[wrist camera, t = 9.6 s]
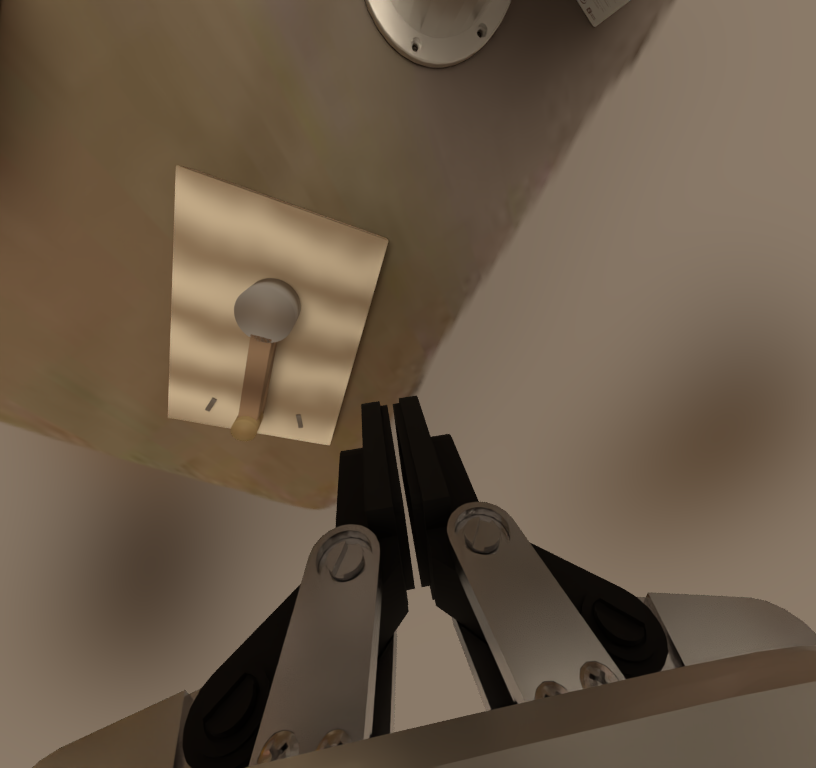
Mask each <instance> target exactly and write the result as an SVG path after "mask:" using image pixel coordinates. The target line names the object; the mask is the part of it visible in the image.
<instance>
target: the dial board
mask: <svg viewBox="0 0 816 768" xmlns="http://www.w3.org/2000/svg"><path fill="white" fill-rule="evenodd" d="M388 241H389V240H388V239H387V238H385V237H382V236H379V235H377V234H374V233H371V232H368V231H365V230H363V229H360V228H357V227H354V226H351V225H349V224H346V223H343V222H340V221H337V220H335V219H332V218H329V217H326V216H323V215H321V214H318V213H315V212H312V211H309V210H307V209H304V208H301V207H298V206H295V205H292V204H290V203H287V202H284V201H281V200H278V199H276V198H273V197H270V196H267V195H264V194H262V193H259V192H256V191H253V190H250V189H248V188H245V187H242V186H239V185H236V184H234V183H231V182H228V181H225V180H222V179H220V178H217V177H214V176H211V175H208V174H206V173H203V172H200V171H197V170H194V169H191V168H187V167H183V166H178V165H176V182H175V212H174V243H173V274H172V305H171V335H170V366H169V397H168V418H173V419H179V420H185V421H191V422H197V423H202V424H208V425H214V426H220V427H226V428H231V427H232V425H233V423H234V421H235V420H236V418H237V416H238V414H239V408H240V401H241V394H242V388H243V381H244V375H245V368H246V362H247V355H248V348H249V342H250V337H249V336H247V335H246V334H245V333H244V332H243V331H242V330H241V329H240V327H239V326H238V324H237V322H236V320H235V316H234V305H235V302H236V300H237V298H238V297H239V296H240V294H242V293H243V292H244V291H245V290H247V289H248V288H249V287H250V286H252V285H253V284H254V283H256V282H257V281H259V280H261V279H265V278H275V279H279V280H282V281H284V282H286V283H287V284H289V285H290V286H291V287H292V288H293V289H294V290H295V291H296V293H297V294H298V296H299V299H300V303H301V311H300V315H299V317H298V319H297V321H296V323H295V325H294V327H293V329H292V331H291V332H290V334H289V335H288V336H287V337H286V338H284V339H283V340H280V341H278V342H277V346H276V351H275V357H274V362H273V367H272V372H271V378H270V383H269V388H268V394H267V399H266V404H265V409H264V414H263V415H264V417H263V420H262V422H261V425H260V427H259V429H258V432H257V433H260V434H266V435H272V436H278V437H283V438H289V439H295V440H301V441H307V442H312V443H318V444H324V445H330V443H331V439H332V436H333V432H334V429H335V425H336V422H337V419H338V415H339V412H340V408H341V405H342V401H343V398H344V394H345V391H346V387H347V384H348V380H349V377H350V373H351V370H352V366H353V363H354V359H355V356H356V352H357V349H358V345H359V342H360V338H361V335H362V332H363V328H364V325H365V321H366V318H367V314H368V311H369V307H370V304H371V300H372V297H373V293H374V290H375V286H376V283H377V279H378V276H379V272H380V269H381V265H382V262H383V258H384V255H385V251H386V248H387V244H388Z"/></svg>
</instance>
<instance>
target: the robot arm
mask: <svg viewBox="0 0 816 768" xmlns="http://www.w3.org/2000/svg"><path fill="white" fill-rule="evenodd" d="M365 2H366V5H367V8H368V11H369V13H370V15H371V17H372V18H373V20H374V22H375V24H376V26H377V28H378V30H379V31H380V32H381V34H382V35H383V36H384V37H385V39H386V40H387V41H388V43H389V44H390V45H391V46H392V47H393V48H394V49H395V50H397V51H398V52H399V53H400V54H401V55H402V56H404V57H406V58H407V59H409V60H411V61H412V62H414V63H417V64H420V65H423V66H426V67H437V68H443V67H448V66H453V65H457V64H459V63H461V62H463V61H465V60H467V59H469V58H470V57H471V56H473V55H474V54H475V53H476V52H478V51H479V50H480V49H481V48H482V47H483V46H484V45H485V44H486V42H487V41H488V40H489V39H490V38H491V37H492V35H493V34H494V32H495V31H496V29H497V28H498V27H499V25H500V24H501V22H502V20H503V18H504V16H505V14H506V12H507V10H508V8H509V6H510V3H511V0H365ZM477 32H480V33H481V38H480V37H479V36H478V35H477ZM413 45H415V46H416V47H417V49H418V50H417V52H414V51H413V50H412V46H413ZM361 409H362V438H363V448H358V449H352V450H346V451H341V453H340V462H339V479H338V496H337V513H336V528H334V529H332V530H330V531H328V532H327V533H326V534H325V535H323V536H322V537H321V538H320V539H319V540H318V542H317V543H316V544H315V545H314V546H313V548H312V551H311V553H310V555H309V558H308V561H307V564H306V568H305V572H304V575H303V578H302V582H301V584H300V585H299V586H298V587H297V588H296V589H295V590H294V591H293V592H292V593H291V595H290V596H289V597H288V598H287V599H286V600H285V601H284V602H283V603H282V604H281V605H280V606H279V607H278V608H277V609H276V610H275V611H274V612H273V613H272V614H271V615H270V616H269V617H268V618H267V619H266V620H265V621H264V622H263V623H262V624H261V625H260V626H259V627H258V628H257V629H256V630H255V631H254V632H253V634H252V635H251V636H250V637H249V638H248V639H247V640H246V641H245V642H244V643H243V644H242V645H241V646H240V647H239V648H238V649H237V650H236V651H235V652H234V653H233V654H232V655H231V656H230V657H229V658H228V659H227V660H226V661H225V663H223V664H222V665H221V666H220V667H219V668H218V669H217V670H216V672H215V673H214V674H213V675H212V676H211V677H210V678H209V680H208V681H207V682H206V683H205V684H204V686H203V687H202V688H201V689H199V690H197V691H194V692H192V693H190V694H188V693H187V691H186V690H184V691H181V692H179V693H177V694H175V695H173V696H171V697H169V698H166V699H164V700H162V701H160V702H158V703H156V704H153V705H151V706H149V707H147V708H145V709H143V710H141V711H138V712H136V713H134V714H132V715H130V716H128V717H125V718H123V719H121V720H119V721H117V722H115V723H113V724H111V725H108V726H106V727H104V728H102V729H100V730H97V731H95V732H93V733H91V734H89V735H87V736H85V737H83V738H80V739H78V740H76V741H74V742H72V743H69V744H67V745H65V746H63V747H61V748H59V749H58V750H56V751H54V752H53V753H51V754H49V755H48V756H47V757H45V758H43V759H42V760H40V761H39V762H38V763H37V764H36V765H35V766H33V767H32V768H816V633H815V632H814V631H812V630H811V628H809V627H808V626H807V625H806V624H805V623H804V622H803V621H802V620H800V619H799V618H797V617H796V616H794V615H793V614H791V613H790V612H788V611H787V610H785V609H783V608H781V607H779V606H777V605H774V604H772V603H770V602H768V601H764V600H759V599H754V598H747V597H727V596H708V595H707V596H706V595H688V594H668V593H648V594H647V596H646V597H635V596H634V595H633V594H631V593H629V592H628V591H626V590H625V589H623V588H621V587H619V586H617V585H615V584H613V583H610V582H609V581H607V580H605V579H603V578H601V577H598V576H596V575H594V574H592V573H590V572H588V571H586V570H584V569H582V568H580V567H578V566H576V565H574V564H572V563H570V562H568V561H566V560H564V559H562V558H560V557H558V556H556V555H554V554H552V553H550V552H548V551H546V550H544V549H542V548H540V547H538V546H536V545H534V544H532V543H530V542H529V541H528V540H527V538H526V537H525V535H524V534H523V532H522V531H521V530H520V528H519V527H518V525H517V524H516V523H515V521H514V520H513V518H512V517H511V516H510V515H509V514H508V513H507V512H506V511H504V510H503V509H501V508H500V507H498V506H496V505H493V504H490V503H487V502H479V501H478V499H477V497H476V494H475V492H474V490H473V487H472V485H471V482H470V480H469V478H468V475H467V473H466V470H465V468H464V466H463V463H462V461H461V458H460V456H459V454H458V451H457V449H456V446H455V444H454V442H453V439H452V437H451V435H450V434H446V435H439V436H433V437H430V434H429V431H428V428H427V425H426V422H425V418H424V415H423V412H422V409H421V406H420V403H419V400H418V397H417V396H411V397H405V398H399V403H397V404H393V410H394V418H395V425H396V433H397V440H398V448H399V456H400V463H401V471H402V477H403V483H404V489H405V495H406V501H407V506H408V512H409V517H410V524H411V529H412V534H413V541H414V546H415V552H416V558H417V563H418V569H419V575H420V580H421V586H422V587H425V586H430V589H431V594H432V599H433V600H434V599H435V603H436V606H437V607H439V608H440V609H441V610H443V611H444V612H446V613H448V614H449V615H450V616H451V617H452V620H453V625H454V628H455V630H456V632H457V635H458V638H459V641H460V643H461V646H462V649H463V651H464V654H465V657H466V659H467V662H468V664H469V667H470V670H471V672H472V675H473V678H474V680H475V683H476V685H477V688H478V691H479V693H480V696H481V698H482V701H483V704H484V707H485V709H486V712H481V713H476V714H472V715H468V716H463V717H459V718H455V719H450V720H446V721H442V722H437V723H434V724H429V725H425V726H420V727H416V728H412V729H407V730H403V731H399V732H394V717H395V714H394V713H395V686H396V685H395V684H396V653H397V631H396V629H397V628H398V626H399V625H400V623H401V622H402V620H403V619H404V617H405V616H406V614H407V613H408V599H407V592H406V590H410V589H414V588H415V586H414V579H413V571H412V564H411V557H410V549H409V542H408V535H407V528H406V520H405V513H404V506H403V500H402V493H401V487H400V481H399V475H398V469H397V463H396V456H395V450H394V444H393V438H392V432H391V426H390V420H389V413H388V407H387V405H383V406H380V402H379V401H378V402H371V403H365V404H361Z"/></svg>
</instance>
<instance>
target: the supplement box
mask: <svg viewBox="0 0 816 768" xmlns="http://www.w3.org/2000/svg"><path fill="white" fill-rule="evenodd" d="M629 1H631V0H577V2H578V3H579V5H580V7H581V8H582V10H583V11H584V13H585V14H586V16H587V18H588V19H589V21H590V22H591V24H592V25H593V26H594V27H596V26H597V25H598V24H600V23H601V22H603V21H604V20H605V19H607V18H608V17H609V16H610V15H612V14H613V13H614V12H616V11H617V10H618V9H620V8H621V7H622V6H624V5H625V4H626V3H628V2H629Z"/></svg>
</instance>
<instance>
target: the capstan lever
mask: <svg viewBox="0 0 816 768" xmlns="http://www.w3.org/2000/svg"><path fill="white" fill-rule="evenodd" d="M300 311H301V303H300V299H299V296H298V294H297V293H296V291H295V290H294V289H293V288H292V287H291V286H290V285H289V284H287V283H286V282H284V281H282V280H279V279H275V278H265V279H261V280H259V281H257V282H256V283H254V284H253V285H252V286H250V287H249V288H248V289H247V290H245V291H244V292H243V293H242V294H240V296H239V297H238V298H237V300H236V302H235V305H234V316H235V320H236V322H237V324H238V326H239V327H240V329H241V330H242V331H243V332H244V333H245V334H246V335H247V336H249V337H250V342H249V348H248V355H247V362H246V368H245V375H244V381H243V388H242V394H241V401H240V408H239V414H238V416H237V418H236V420H235V421H234V423H233V425H232V427H231V434H232V436H233V437H234V438H235V439H237V440H239V441H250V440H252V439H254V438H255V436H256V434H257V432H258V429H259V427H260V425H261V422H262V420H263V417H264V415H263V414H264V409H265V404H266V399H267V394H268V388H269V383H270V378H271V372H272V367H273V362H274V357H275V351H276V346H277V342H278V341H280V340H283V339H284V338H286V337H287V336H288V335H289V334H290V332H291V331H292V329H293V327H294V325H295V323H296V321H297V319H298V317H299V315H300Z"/></svg>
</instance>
